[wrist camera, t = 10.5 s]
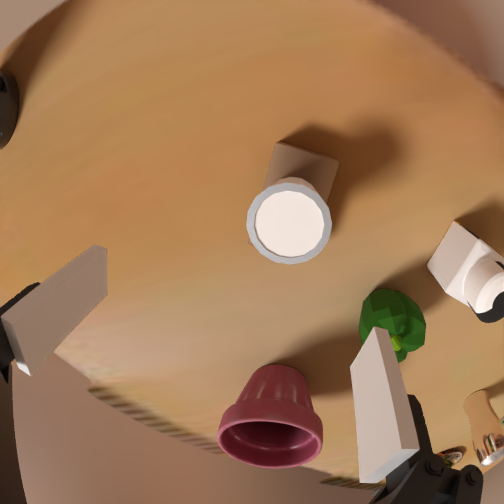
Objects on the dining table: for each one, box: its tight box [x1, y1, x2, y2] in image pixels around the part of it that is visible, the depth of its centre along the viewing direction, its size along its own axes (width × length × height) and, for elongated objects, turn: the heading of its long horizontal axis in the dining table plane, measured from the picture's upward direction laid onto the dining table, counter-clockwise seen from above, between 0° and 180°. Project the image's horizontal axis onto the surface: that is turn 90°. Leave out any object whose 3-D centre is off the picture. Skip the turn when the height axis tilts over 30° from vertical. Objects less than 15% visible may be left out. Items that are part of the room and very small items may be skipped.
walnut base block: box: [248, 141, 340, 245], centre depth 32 cm, size 6×11×4 cm, turn 166°
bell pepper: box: [359, 289, 426, 363], centre depth 33 cm, size 8×8×10 cm
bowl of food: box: [436, 449, 463, 468], centre depth 48 cm, size 12×12×8 cm
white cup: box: [246, 177, 332, 265], centre depth 27 cm, size 7×7×7 cm
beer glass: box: [463, 390, 504, 467], centre depth 35 cm, size 7×7×15 cm
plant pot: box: [217, 365, 323, 468], centre depth 40 cm, size 14×14×13 cm
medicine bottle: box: [427, 221, 504, 323], centre depth 27 cm, size 7×7×12 cm
